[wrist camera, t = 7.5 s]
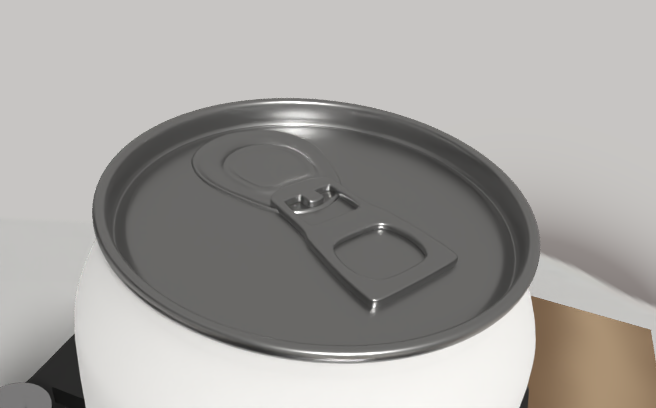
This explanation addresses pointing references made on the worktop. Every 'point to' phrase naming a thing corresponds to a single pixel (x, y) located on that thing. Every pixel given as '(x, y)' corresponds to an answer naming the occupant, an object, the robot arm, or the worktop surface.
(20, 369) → the worktop surface
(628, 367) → the tower base
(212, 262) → the can
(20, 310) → the worktop surface
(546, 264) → the worktop surface
